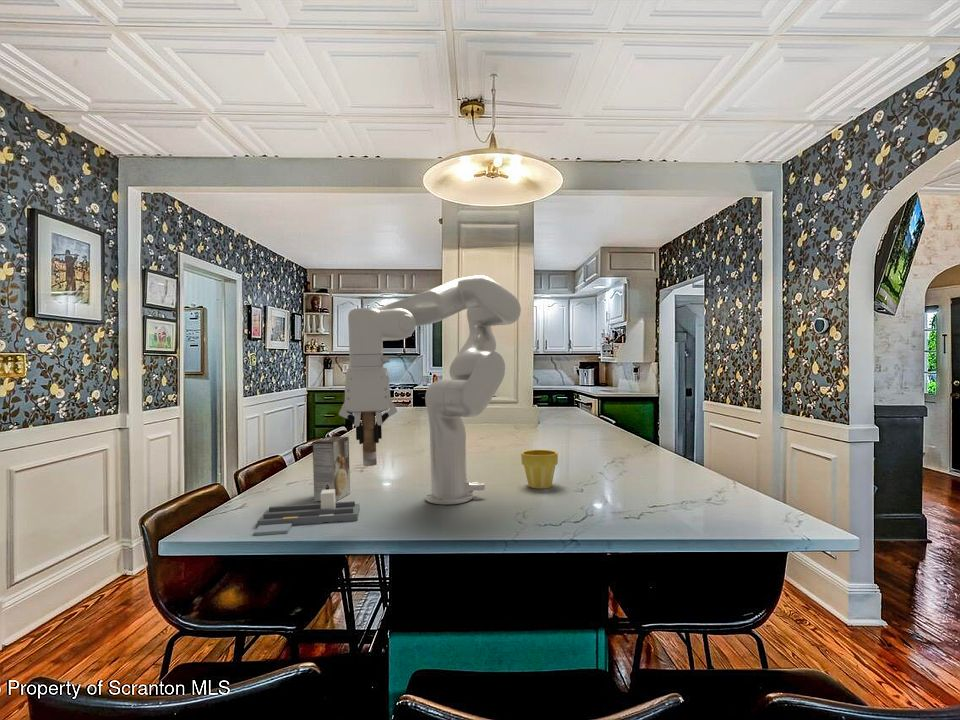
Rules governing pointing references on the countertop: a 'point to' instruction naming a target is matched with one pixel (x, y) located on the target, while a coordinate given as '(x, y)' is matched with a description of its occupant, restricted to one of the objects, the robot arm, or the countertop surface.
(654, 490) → the countertop surface
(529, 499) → the countertop surface
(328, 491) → the switch tab
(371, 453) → the brown rod
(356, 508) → the switch panel
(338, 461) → the coffee box
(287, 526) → the tool mat
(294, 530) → the countertop surface
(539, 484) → the plant pot
